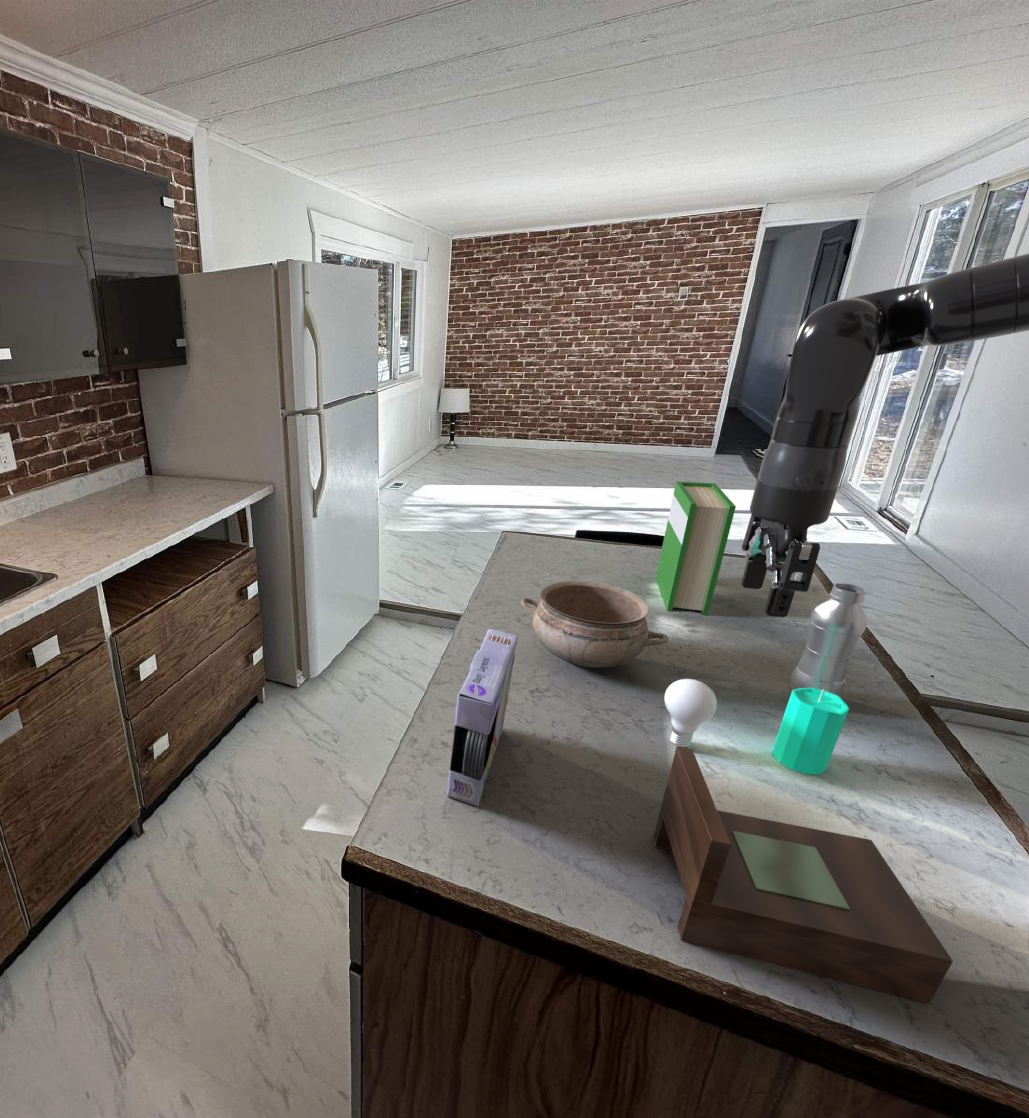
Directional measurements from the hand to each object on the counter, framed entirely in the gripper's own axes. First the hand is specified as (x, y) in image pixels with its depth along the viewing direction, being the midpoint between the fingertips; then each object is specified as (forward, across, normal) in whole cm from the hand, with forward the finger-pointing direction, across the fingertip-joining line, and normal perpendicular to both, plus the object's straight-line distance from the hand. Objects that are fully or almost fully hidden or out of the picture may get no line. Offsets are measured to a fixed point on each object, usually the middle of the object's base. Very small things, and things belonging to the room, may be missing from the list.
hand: (762, 600), depth 77 cm
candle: (+25, +2, -10) cm, 27 cm away
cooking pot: (+25, +23, +16) cm, 38 cm away
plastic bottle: (+25, +20, -18) cm, 37 cm away
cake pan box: (+25, -12, +33) cm, 43 cm away
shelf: (+25, -26, +2) cm, 36 cm away
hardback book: (+25, +57, -7) cm, 63 cm away
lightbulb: (+25, +1, +5) cm, 26 cm away
